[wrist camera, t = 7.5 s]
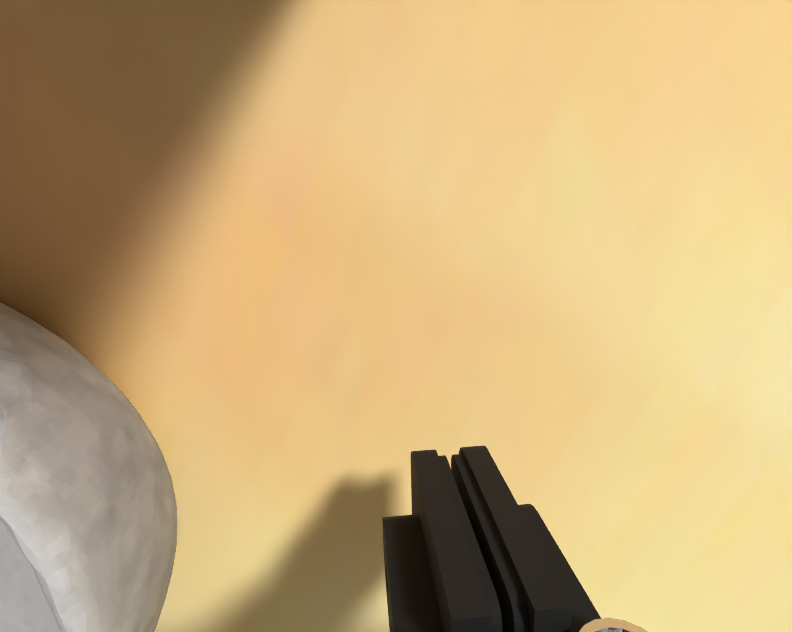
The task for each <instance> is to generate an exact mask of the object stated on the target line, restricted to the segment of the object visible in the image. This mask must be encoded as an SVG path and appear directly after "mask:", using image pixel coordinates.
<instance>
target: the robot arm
mask: <svg viewBox="0 0 792 632" xmlns="http://www.w3.org/2000/svg"><path fill="white" fill-rule="evenodd" d="M411 488H412V515H406V516H395V517H384V518H383V543H384V562H385V577H386V591H387V603H388V615H389V627H390V632H647V631H646V630H644V629H643V628H641V627H639V626H636V625H634V624H632V623H629V622H627V621H624V620H618V619H612V618H603V619H601V617H600V616H599V614H598V612H597V611H596V609H595V607H594V606H593V604H592V602H591V601H590V599H589V597H588V596H587V594H586V592H585V591H584V589H583V587H582V586H581V584H580V582H579V580H578V579H577V577H576V575H575V574H574V572H573V570H572V569H571V567H570V565H569V564H568V562H567V560H566V559H565V557H564V555H563V554H562V552H561V550H560V549H559V547H558V545H557V544H556V542H555V540H554V539H553V537H552V535H551V534H550V532H549V530H548V529H547V527H546V525H545V524H544V522H543V520H542V519H541V517H540V515H539V513H538V512H537V510H536V509H535V508H534V506H532V505H531V504H524V505H518V504H517V503H516V501H515V499H514V497H513V495H512V493H511V491H510V490H509V488H508V486H507V484H506V482H505V480H504V479H503V477H502V475H501V473H500V471H499V469H498V468H497V466H496V464H495V462H494V460H493V458H492V457H491V455H490V453H489V451H488V449H487V448H486V446H474V447H461V448H460V451H459V454H457V455H452V458H451V468H450V466H449V463H448V460H447V458H446V456H438V454H437V452H436V450H424V451H412V452H411Z"/></svg>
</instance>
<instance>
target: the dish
mask: <svg viewBox="0 0 792 632" xmlns="http://www.w3.org/2000/svg"><path fill="white" fill-rule="evenodd" d="M176 544H177V506H176V500H175V494H174V489H173V484H172V479H171V476H170V473H169V470H168V468H167V465H166V462H165V459H164V457H163V455H162V452H161V450H160V448H159V446H158V444H157V442H156V440H155V438H154V437H153V435H152V434H151V432H150V430H149V429H148V427H147V425H146V424H145V422H144V420H143V419H142V417H141V416H140V414H139V413H138V412H137V410H136V409H135V408H134V406H133V405H132V404H131V403H130V401H129V400H128V399H127V398H126V396H125V395H124V394H123V392H122V391H121V390H120V389H119V388H118V387H117V386H116V385H115V384H114V383H113V382H112V381H111V380H110V379H109V378H108V377H107V376H106V375H105V374H104V373H103V372H102V371H101V370H100V369H98V368H97V367H96V366H95V365H94V364H93V363H92V362H90V361H89V360H88V359H87V358H86V357H84V356H83V355H82V354H81V353H80V352H78V351H77V350H76V349H75V348H74V347H72V346H71V345H70V344H69V343H67V342H66V341H64V340H63V339H61V338H60V337H58V336H57V335H55V334H54V333H52V332H51V331H49V330H47V329H46V328H44V327H43V326H41V325H40V324H38V323H36V322H35V321H33V320H32V319H30V318H28V317H27V316H25V315H23V314H21V313H19V312H17V311H15V310H14V309H12V308H10V307H8V306H6V305H4V304H2V303H0V632H154V631H155V628H156V625H157V622H158V619H159V616H160V613H161V610H162V607H163V604H164V601H165V598H166V594H167V590H168V586H169V582H170V578H171V574H172V569H173V563H174V557H175V551H176Z"/></svg>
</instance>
